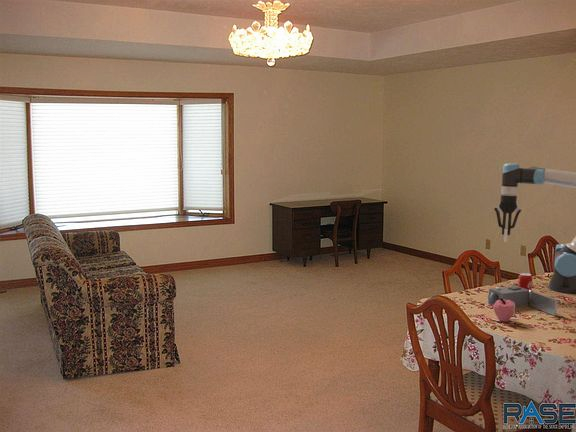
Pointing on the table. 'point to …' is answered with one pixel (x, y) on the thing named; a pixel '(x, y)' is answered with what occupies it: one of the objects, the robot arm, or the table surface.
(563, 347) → the table surface
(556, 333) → the table surface
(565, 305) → the table surface
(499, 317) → the apple
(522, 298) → the grey knobbed block
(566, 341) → the table surface
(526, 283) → the beverage can
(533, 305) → the side door
